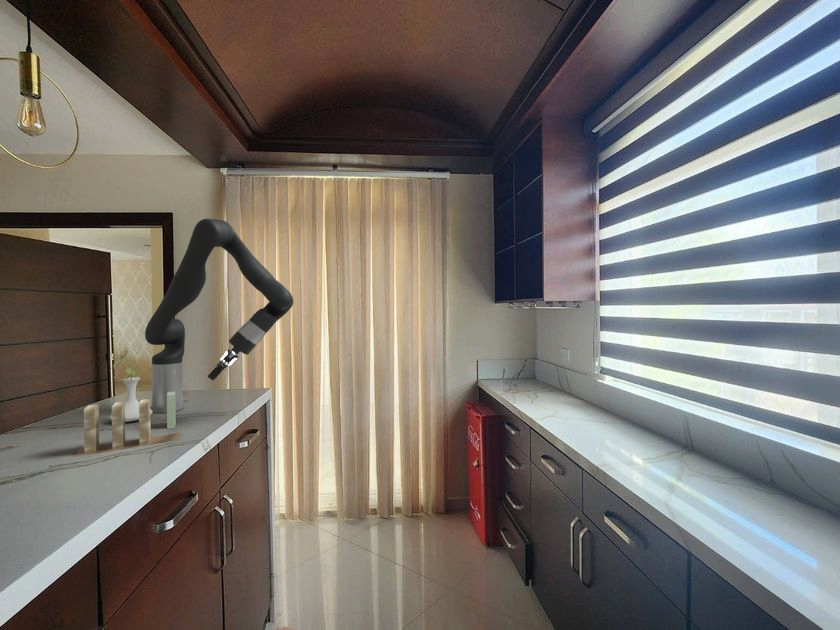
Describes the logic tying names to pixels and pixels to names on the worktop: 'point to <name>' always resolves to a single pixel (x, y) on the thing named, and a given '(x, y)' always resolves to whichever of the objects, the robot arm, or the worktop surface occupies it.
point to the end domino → (91, 428)
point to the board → (132, 444)
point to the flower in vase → (129, 389)
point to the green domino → (171, 410)
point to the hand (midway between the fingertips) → (211, 376)
